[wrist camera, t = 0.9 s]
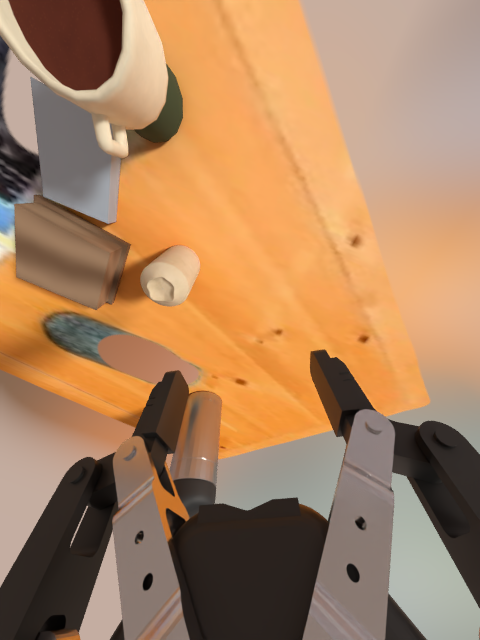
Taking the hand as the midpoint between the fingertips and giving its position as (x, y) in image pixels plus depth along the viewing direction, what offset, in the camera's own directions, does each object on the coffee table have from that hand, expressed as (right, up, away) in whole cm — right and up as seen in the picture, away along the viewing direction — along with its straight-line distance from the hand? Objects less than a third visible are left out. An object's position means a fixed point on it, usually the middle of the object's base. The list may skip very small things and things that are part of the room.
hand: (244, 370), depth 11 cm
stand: (-24, +13, +16) cm, 32 cm away
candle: (-9, +12, +17) cm, 23 cm away
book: (-18, +21, +11) cm, 30 cm away
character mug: (-9, +26, +8) cm, 28 cm away
